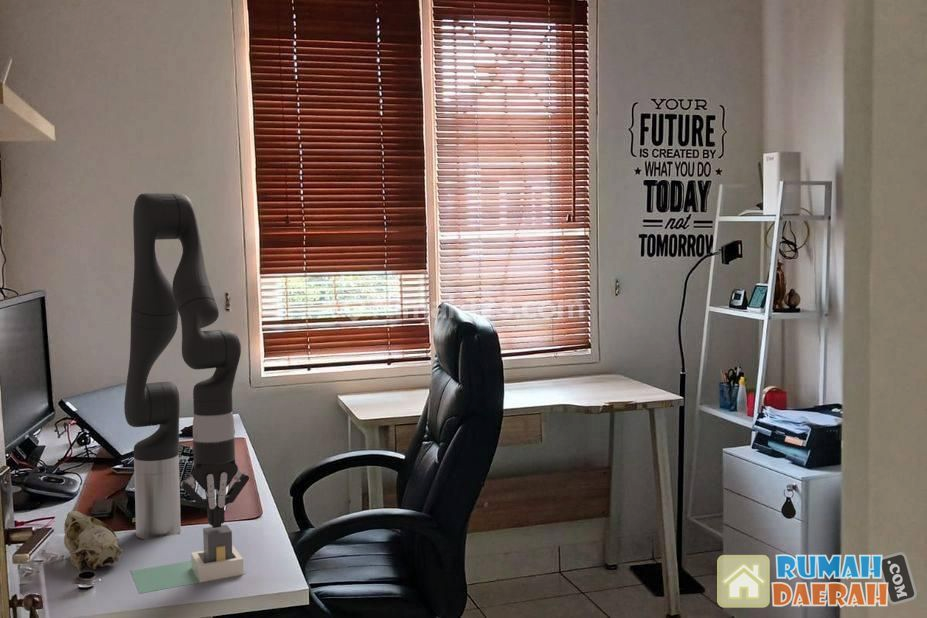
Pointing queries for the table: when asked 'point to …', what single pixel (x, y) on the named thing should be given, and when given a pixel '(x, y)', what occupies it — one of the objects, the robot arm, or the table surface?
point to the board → (165, 577)
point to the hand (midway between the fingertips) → (216, 526)
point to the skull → (90, 541)
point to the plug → (217, 544)
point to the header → (216, 566)
